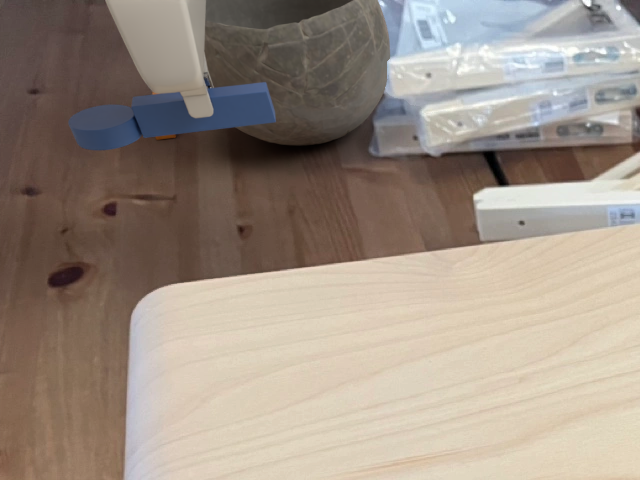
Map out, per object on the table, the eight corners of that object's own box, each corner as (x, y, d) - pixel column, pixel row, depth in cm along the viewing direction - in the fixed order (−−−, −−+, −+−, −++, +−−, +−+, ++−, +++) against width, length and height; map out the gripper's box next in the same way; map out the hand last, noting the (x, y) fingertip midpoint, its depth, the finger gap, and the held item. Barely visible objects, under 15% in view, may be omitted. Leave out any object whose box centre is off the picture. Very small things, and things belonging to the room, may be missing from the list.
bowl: (184, 125, 112) (128, -24, 101) (356, 79, 121) (322, -62, 110) (258, 195, 101) (205, 37, 90) (441, 138, 110) (412, -11, 100)
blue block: (274, 105, 85) (265, 75, 83) (276, 129, 81) (267, 98, 80) (80, 128, 81) (66, 96, 79) (74, 154, 78) (59, 122, 76)
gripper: (96, -128, 77) (165, 61, 87) (70, -46, 63) (155, 166, 73) (185, -133, 78) (243, 53, 88) (177, -54, 65) (247, 154, 75)
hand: (203, 105), depth 81 cm, fingers closed on blue block, 2 cm apart
